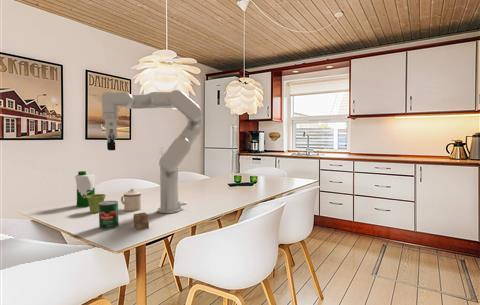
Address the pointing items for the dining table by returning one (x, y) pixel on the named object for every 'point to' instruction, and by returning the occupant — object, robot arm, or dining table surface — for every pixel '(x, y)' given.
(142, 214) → the walnut block
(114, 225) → the canned tomato
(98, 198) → the plant pot
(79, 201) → the milk carton
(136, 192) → the teacup with lid
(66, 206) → the dining table surface
